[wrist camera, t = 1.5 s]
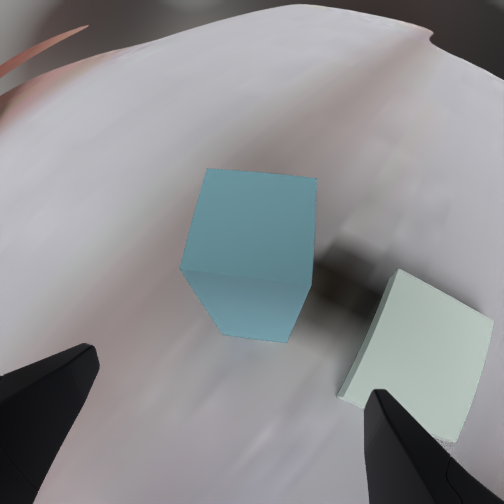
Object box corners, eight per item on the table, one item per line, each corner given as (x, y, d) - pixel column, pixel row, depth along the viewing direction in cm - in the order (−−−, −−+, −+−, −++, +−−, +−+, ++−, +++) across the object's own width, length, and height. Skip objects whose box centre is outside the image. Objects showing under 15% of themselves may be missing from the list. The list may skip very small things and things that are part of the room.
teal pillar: (286, 342, 21) (311, 284, 10) (222, 334, 21) (179, 268, 10) (292, 283, 23) (316, 178, 12) (233, 276, 23) (206, 168, 12)
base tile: (442, 440, 16) (455, 442, 15) (336, 397, 19) (343, 397, 17) (480, 327, 20) (494, 321, 18) (389, 278, 23) (398, 268, 21)
